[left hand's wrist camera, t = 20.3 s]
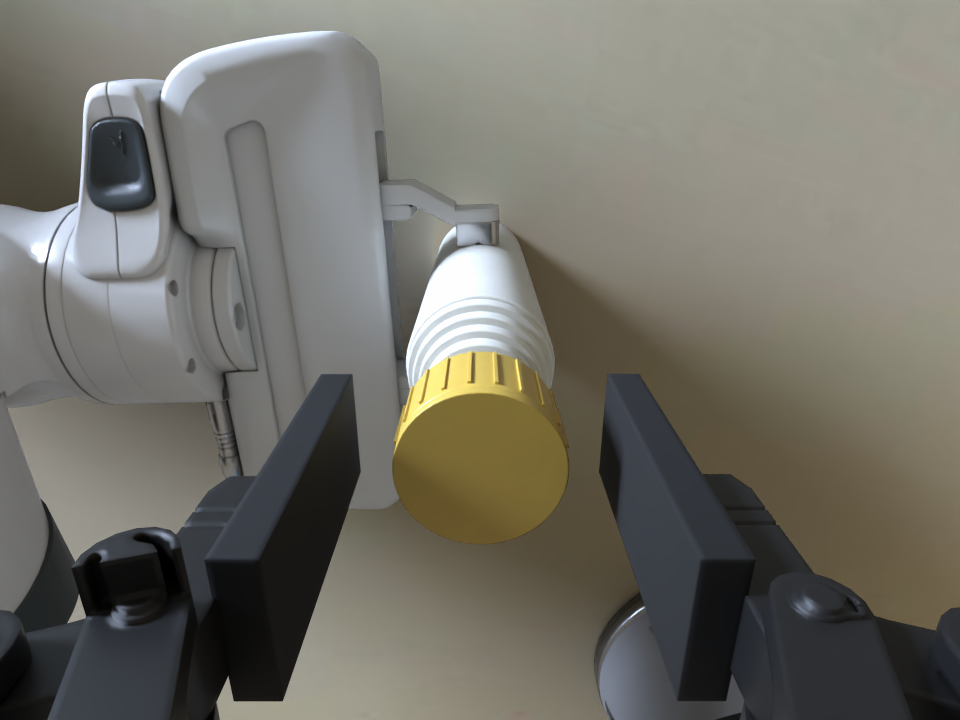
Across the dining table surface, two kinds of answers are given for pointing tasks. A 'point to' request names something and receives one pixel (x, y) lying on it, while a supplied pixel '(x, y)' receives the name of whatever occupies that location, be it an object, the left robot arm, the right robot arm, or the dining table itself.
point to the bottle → (480, 309)
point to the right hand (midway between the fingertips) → (501, 291)
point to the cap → (480, 449)
